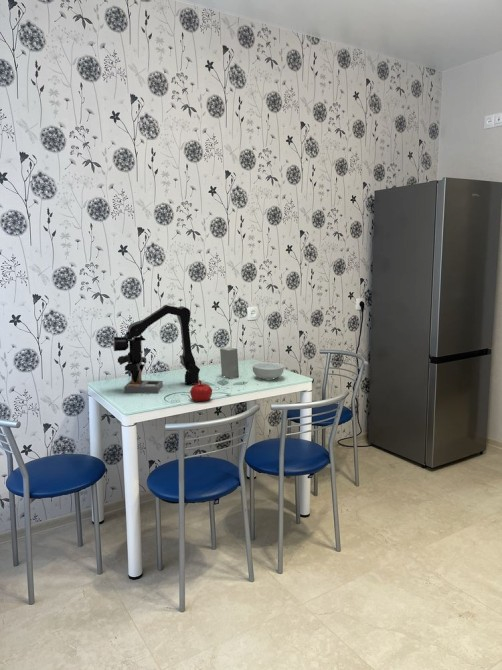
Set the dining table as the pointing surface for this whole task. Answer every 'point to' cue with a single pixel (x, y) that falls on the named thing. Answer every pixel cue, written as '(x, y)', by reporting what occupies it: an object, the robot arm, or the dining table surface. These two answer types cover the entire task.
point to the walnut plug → (137, 379)
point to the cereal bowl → (268, 370)
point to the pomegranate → (201, 392)
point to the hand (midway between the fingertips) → (136, 380)
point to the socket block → (144, 387)
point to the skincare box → (229, 362)
